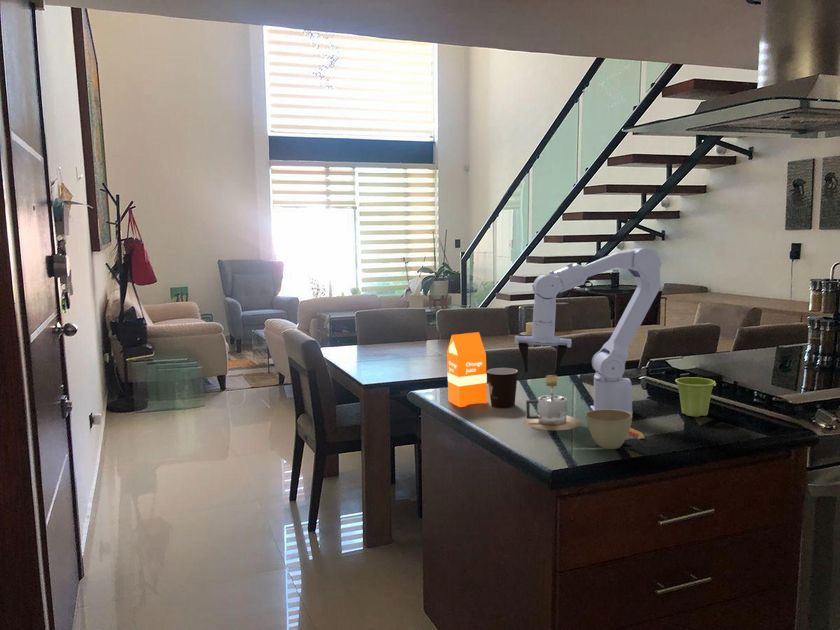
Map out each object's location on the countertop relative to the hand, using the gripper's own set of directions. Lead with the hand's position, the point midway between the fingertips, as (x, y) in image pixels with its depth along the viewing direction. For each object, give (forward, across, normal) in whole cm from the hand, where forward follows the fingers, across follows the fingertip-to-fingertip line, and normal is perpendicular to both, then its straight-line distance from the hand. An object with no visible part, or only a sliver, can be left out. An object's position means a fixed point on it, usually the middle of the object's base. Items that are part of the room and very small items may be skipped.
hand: (541, 372), depth 173 cm
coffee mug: (+12, -10, +9) cm, 18 cm away
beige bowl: (+11, +16, -25) cm, 31 cm away
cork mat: (+11, +3, -9) cm, 14 cm away
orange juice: (+13, -20, +12) cm, 27 cm away
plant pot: (+9, +39, +2) cm, 40 cm away
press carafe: (+11, +2, -9) cm, 14 cm away
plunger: (+6, +3, -9) cm, 11 cm away
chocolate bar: (+11, +20, -16) cm, 28 cm away
